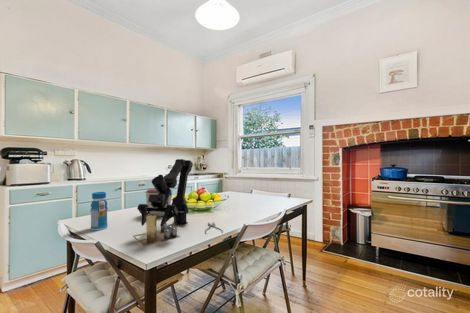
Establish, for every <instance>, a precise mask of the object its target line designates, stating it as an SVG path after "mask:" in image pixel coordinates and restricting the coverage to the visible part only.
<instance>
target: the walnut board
mask: <svg viewBox="0 0 470 313" xmlns="http://www.w3.org/2000/svg"><path fill="white" fill-rule="evenodd" d="M132 238H134V239H135V240H137V242H139V243H140V244H141V245H142V246H144V247H145V246H149V245H153V244H157V243H161V242H165V241H170V240H174V239H178V238H181V236H180V235H179V234H177V237H174V238H170V239H168V240H165V239H164V232H161V229H158V230H157V241H156V242H154V243H147V232H144V233H140V234H139V233H138V234H134V235H132Z"/></svg>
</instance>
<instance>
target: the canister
mask: <svg viewBox="0 0 470 313" xmlns="http://www.w3.org/2000/svg"><path fill="white" fill-rule="evenodd" d="M170 190H171V193H172V192H173V190H172V188H170ZM144 193H145V197H146V199H145V200H146V204H147V205H148V206H149V207H153V206H152V205H151V202H148V199H149V195H158V193H159V192H158V191H156V189H155V187H154V188H149V189H147V190H145V191H144ZM167 205H172V195H170V196H169V199H168V204H166V206H167ZM165 208H166V207H165ZM150 214H156V215H157V218H159V217H160V218H162V217H163V216H164V212H157V211H150Z"/></svg>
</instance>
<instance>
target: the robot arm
mask: <svg viewBox="0 0 470 313" xmlns="http://www.w3.org/2000/svg"><path fill="white" fill-rule="evenodd" d="M193 165H194V162H193V161H191V159H183V158H179V159H178V158H176V159H175V162H174V164H173V165H172V167H171V169H170V171H169V172H168V173H167V174H165V175H163V174H158V175H157V176H155V177H154V178H152V179H151V183H152V187H154V188H155V189H156V191H158V192H159V193H158V195H149V199H148V202H151V205H152V206H153V207H149V206H148V205H147V203H139V204H138V206H137V207H136V208H137V209H136V210H138V211H139V213H140V214H141V222H140V223H141V226H142V227H143V226H144V225H145V224H146V215H149V214H150V211H157V212H164V216H162V219H161V221H160V224H159V225H160V226H159V227H160V228H161V227H162V226H163V225H164V224H165V223H167V222H168V221H169V220H170V219H172V218H173V223H172V224H174V225H176V226H181V225H187V224H188V221H187V214H189V211H190V208H189V206H188V204H187V202H188V201H187V200H186V189H187V184H188V176H189V174H190V173H191V171H192V168H193ZM178 177H179V180H178V179H177V178H178ZM176 186H177V190H176V196H175V197H173V198H172V199H171V204H170V205H167V206H166V204H168V199H169V196H170V195H171V196H172V195H173V194H172V193H171V190H172V189H175V188H176ZM170 189H171V190H170ZM165 207H166V208H165Z"/></svg>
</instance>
